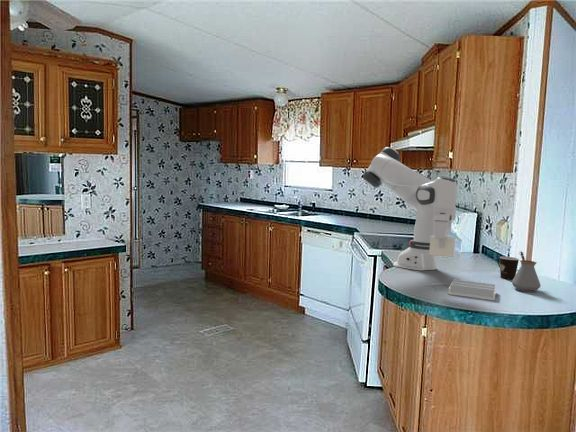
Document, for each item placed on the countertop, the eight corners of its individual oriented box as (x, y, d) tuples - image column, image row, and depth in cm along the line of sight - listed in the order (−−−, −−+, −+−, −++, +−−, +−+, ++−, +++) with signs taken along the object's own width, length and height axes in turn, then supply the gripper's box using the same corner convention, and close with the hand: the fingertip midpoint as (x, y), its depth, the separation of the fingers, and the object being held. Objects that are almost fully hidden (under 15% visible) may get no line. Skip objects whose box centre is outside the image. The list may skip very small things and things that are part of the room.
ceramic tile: (429, 254, 203) (430, 236, 202) (430, 253, 205) (431, 235, 204) (453, 257, 198) (454, 238, 197) (454, 256, 200) (455, 237, 200)
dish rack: (448, 294, 198) (448, 284, 198) (451, 287, 210) (452, 278, 210) (494, 300, 191) (495, 290, 190) (495, 293, 202) (496, 284, 202)
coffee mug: (519, 280, 227) (521, 260, 226) (500, 279, 229) (502, 259, 228) (512, 275, 239) (514, 256, 238) (494, 274, 240) (496, 255, 239)
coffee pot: (543, 294, 203) (546, 260, 201) (514, 291, 206) (516, 258, 204) (531, 283, 223) (534, 252, 222) (505, 280, 226) (508, 250, 225)
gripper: (440, 212, 210) (438, 243, 212) (432, 216, 192) (430, 249, 194) (455, 213, 208) (453, 244, 209) (448, 217, 189) (446, 251, 191)
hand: (442, 247), depth 201 cm, fingers closed on ceramic tile, 2 cm apart
